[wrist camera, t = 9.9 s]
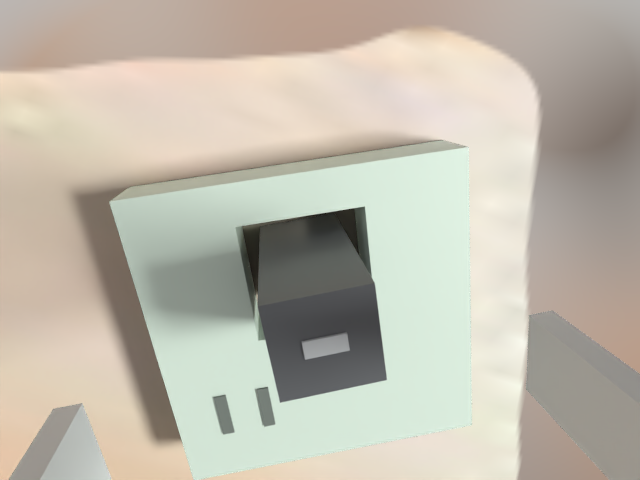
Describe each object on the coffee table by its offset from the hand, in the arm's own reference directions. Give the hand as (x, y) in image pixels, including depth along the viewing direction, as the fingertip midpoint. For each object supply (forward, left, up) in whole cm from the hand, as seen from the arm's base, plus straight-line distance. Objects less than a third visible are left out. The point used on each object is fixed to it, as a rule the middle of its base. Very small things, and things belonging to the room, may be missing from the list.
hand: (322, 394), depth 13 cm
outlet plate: (0, -3, -12) cm, 12 cm away
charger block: (0, 0, -12) cm, 12 cm away
